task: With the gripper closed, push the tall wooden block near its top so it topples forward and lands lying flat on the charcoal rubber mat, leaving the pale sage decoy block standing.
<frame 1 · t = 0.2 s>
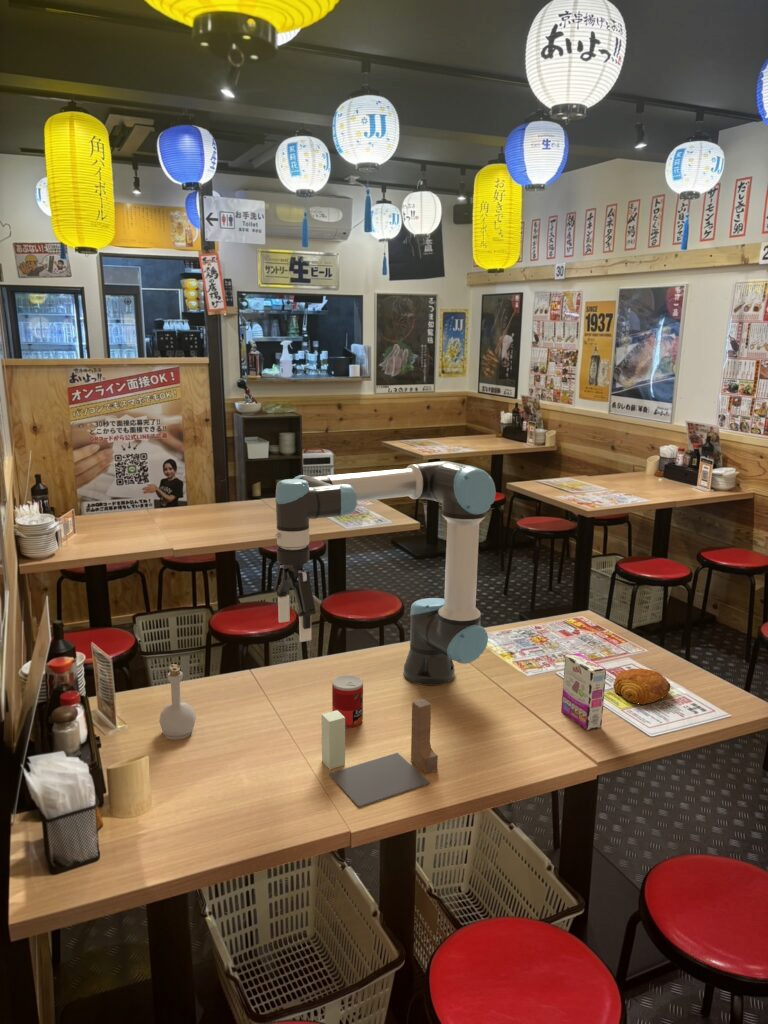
hand: (294, 630, 176), 28 cm above the table, fingers open, 13 cm apart
wooden block: (423, 765, 170), on the table
potion bottle: (177, 733, 183), on the table
candy bar box: (580, 720, 192), on the table
mat: (379, 779, 164), on the table
canned food: (347, 721, 190), on the table
croissant: (640, 694, 208), on the table
decoy block: (333, 762, 171), on the table
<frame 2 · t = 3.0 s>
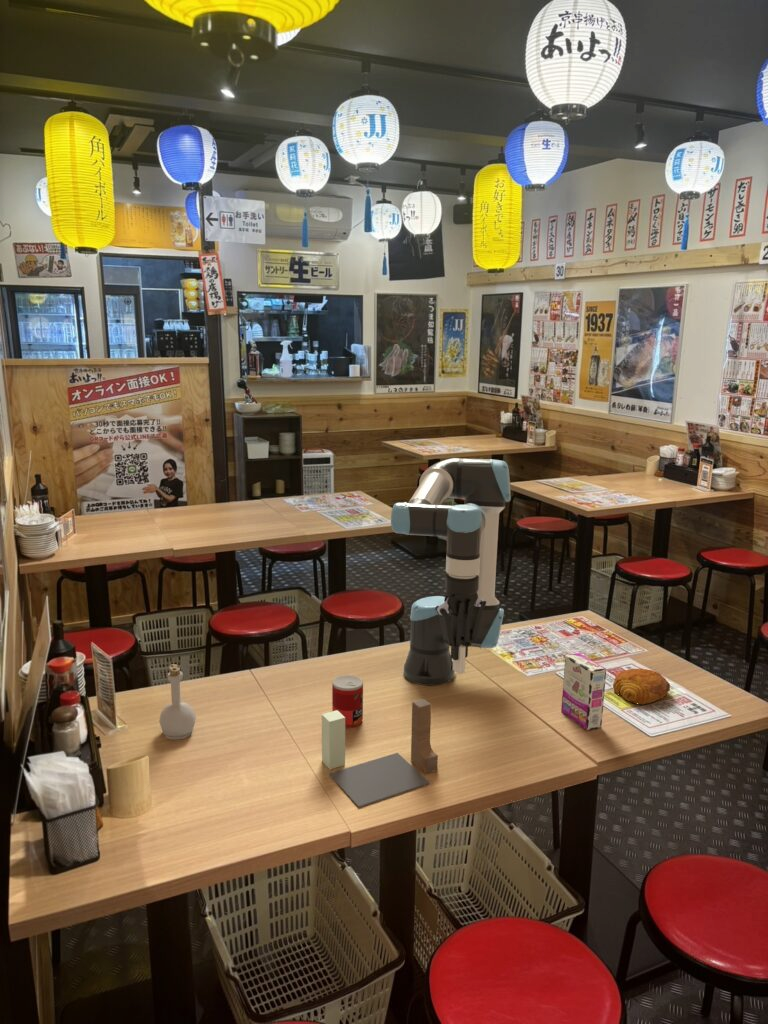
hand: (458, 671, 170), 22 cm above the table, fingers closed
nothing on the table moved.
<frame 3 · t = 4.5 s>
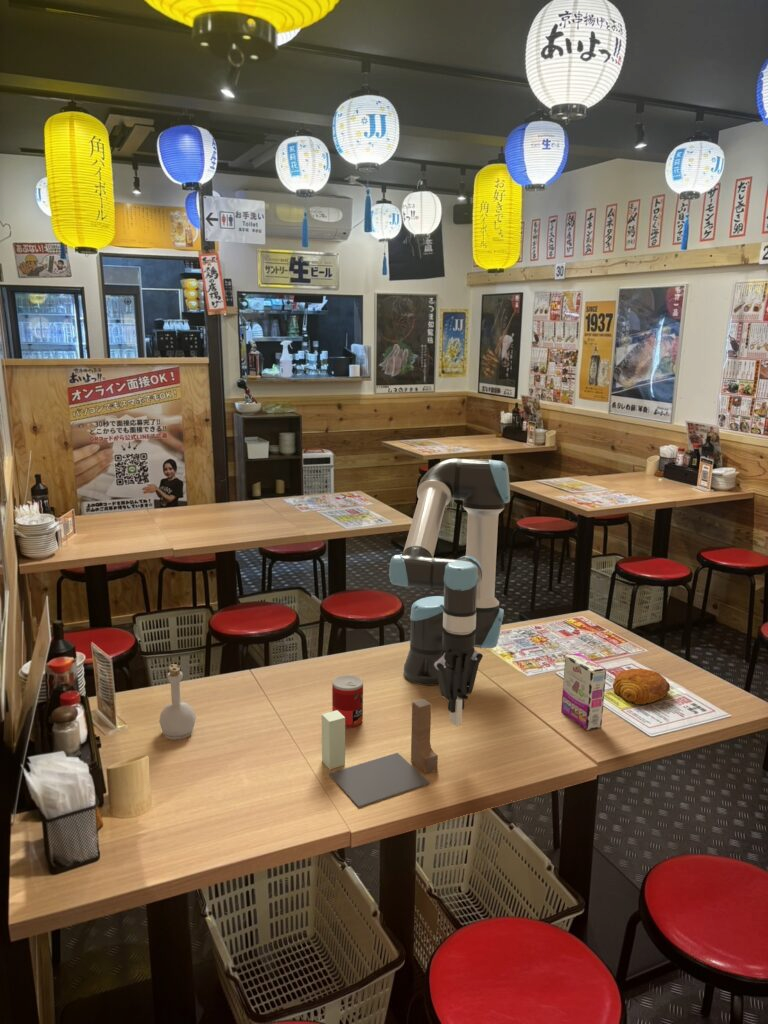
hand: (455, 722, 173), 8 cm above the table, fingers closed
nothing on the table moved.
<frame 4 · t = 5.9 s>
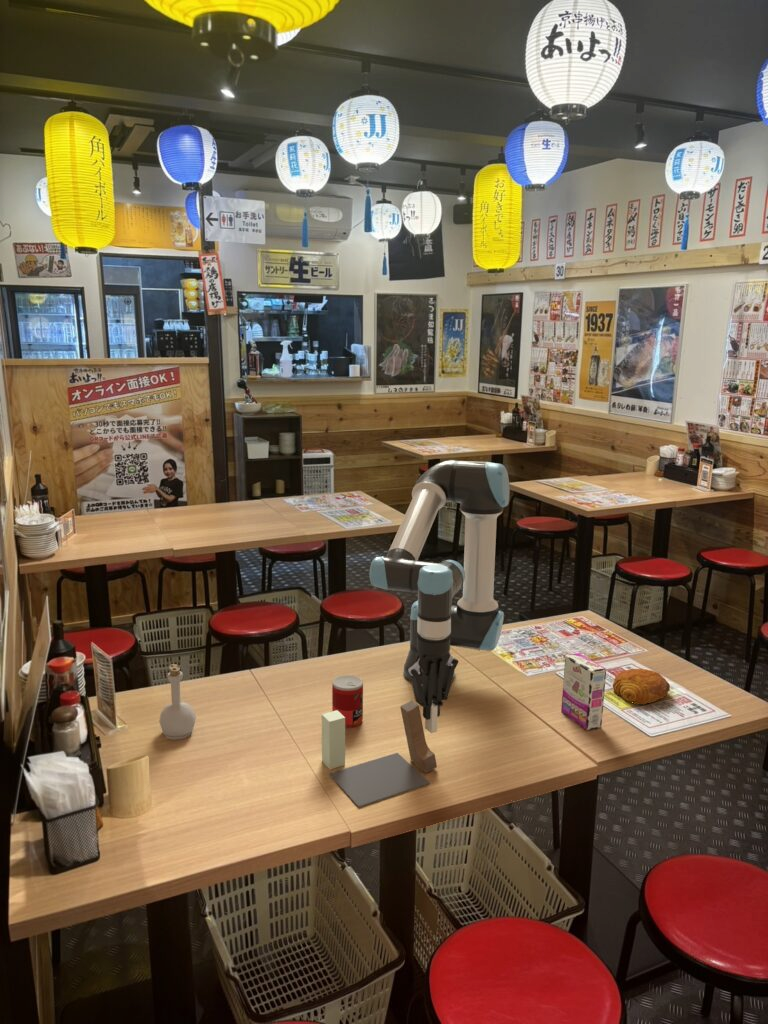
hand: (430, 730, 169), 9 cm above the table, fingers closed
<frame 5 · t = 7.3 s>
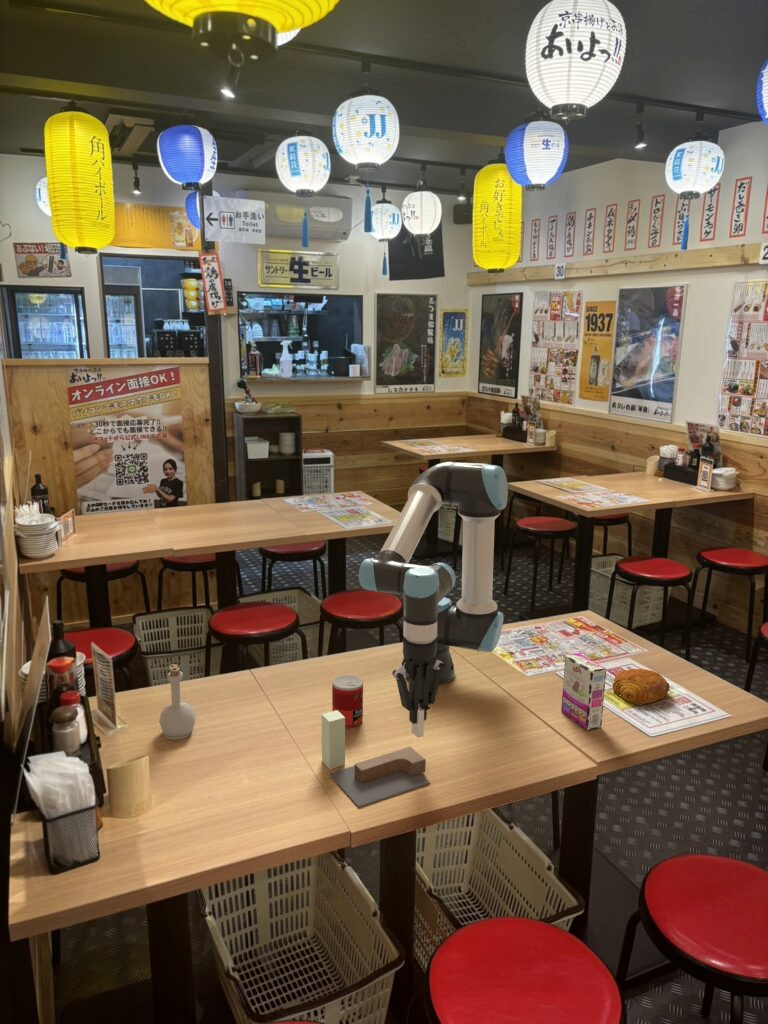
hand: (417, 734, 167), 8 cm above the table, fingers closed
wooden block: (418, 758, 169), point 2 cm above the table, touching mat
everything else where it was.
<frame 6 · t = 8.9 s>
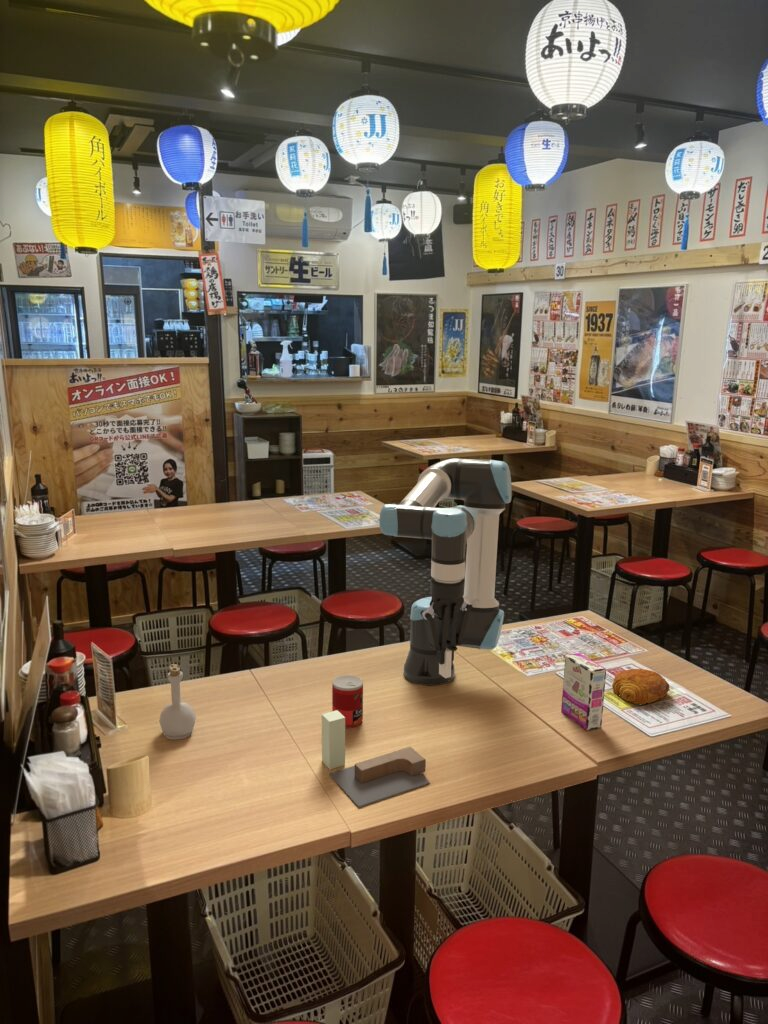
hand: (444, 675, 169), 21 cm above the table, fingers closed
nothing on the table moved.
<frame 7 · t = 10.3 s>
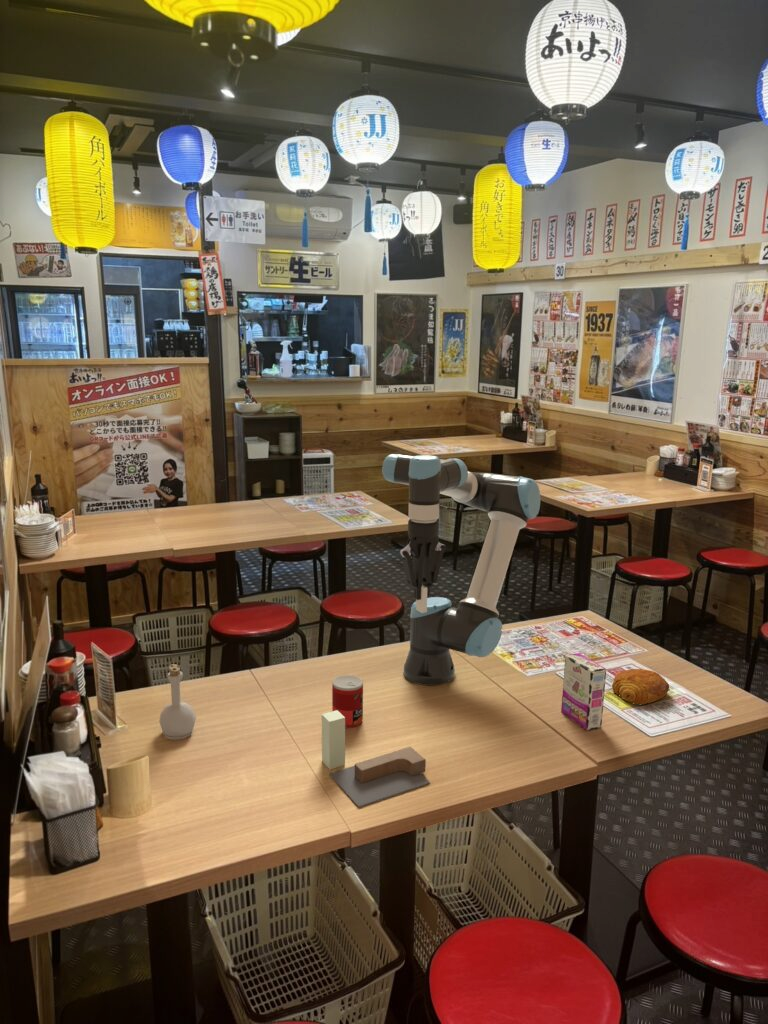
hand: (421, 610, 184), 30 cm above the table, fingers closed
nothing on the table moved.
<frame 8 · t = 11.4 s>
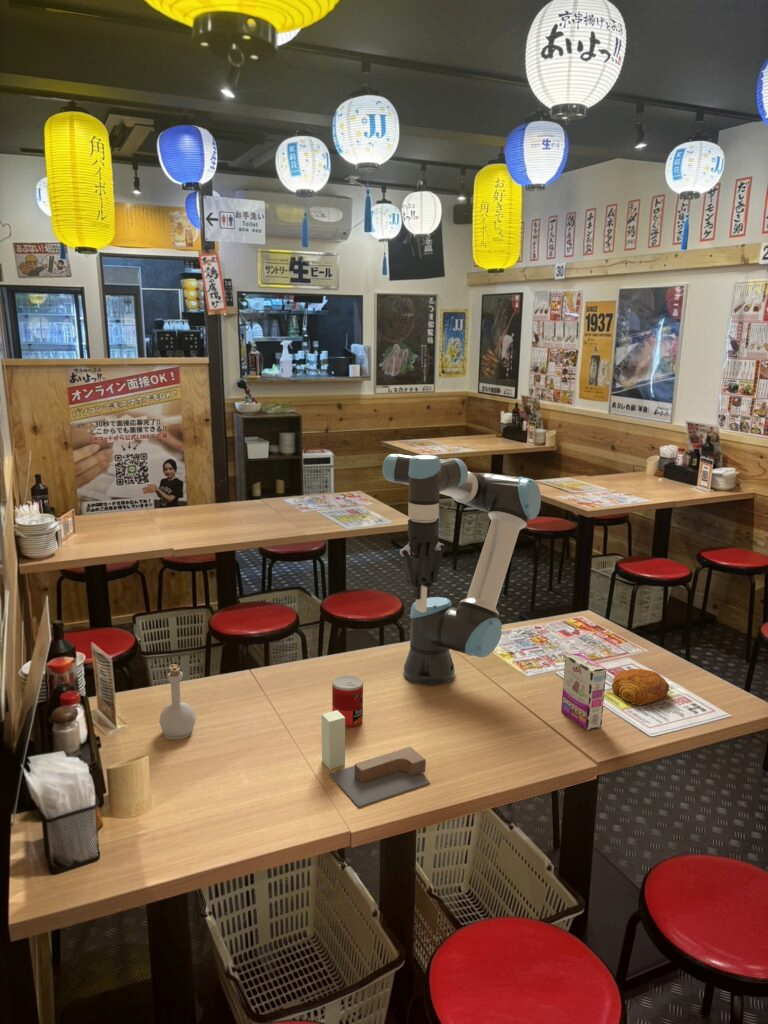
hand: (420, 610, 184), 30 cm above the table, fingers closed
nothing on the table moved.
at the end: wooden block tilted 90°; wooden block inside the target area (8.5 cm from its centre), point 2.0 cm above the table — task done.
